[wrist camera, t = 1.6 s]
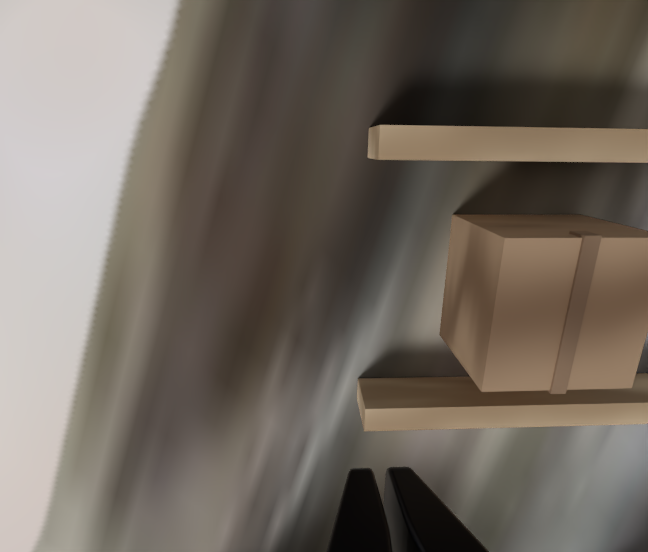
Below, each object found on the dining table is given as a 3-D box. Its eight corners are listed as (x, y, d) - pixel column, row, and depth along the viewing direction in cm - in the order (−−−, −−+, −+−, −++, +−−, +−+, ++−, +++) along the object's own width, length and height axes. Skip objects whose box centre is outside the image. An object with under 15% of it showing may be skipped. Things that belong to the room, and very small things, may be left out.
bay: (755, 390, 22) (822, 426, 19) (356, 398, 21) (365, 438, 18) (856, 135, 18) (961, 133, 15) (368, 127, 17) (382, 123, 14)
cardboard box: (554, 333, 20) (633, 391, 16) (438, 335, 20) (482, 395, 15) (579, 212, 18) (678, 235, 14) (451, 211, 18) (506, 235, 13)
